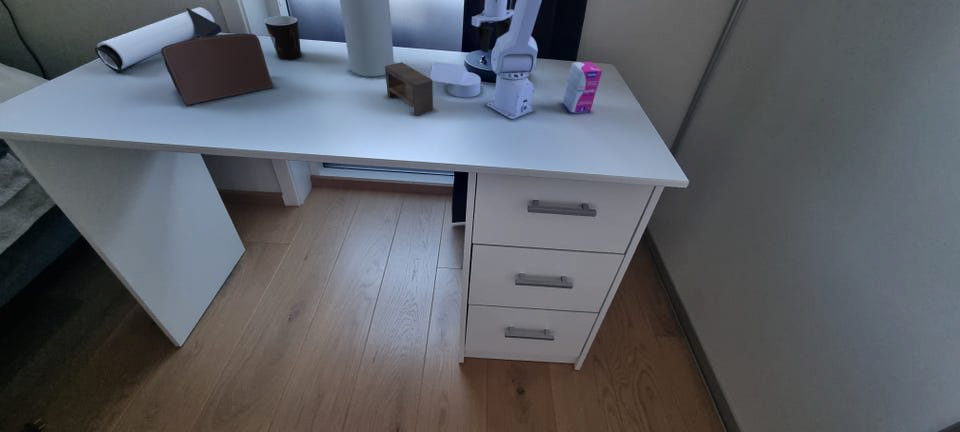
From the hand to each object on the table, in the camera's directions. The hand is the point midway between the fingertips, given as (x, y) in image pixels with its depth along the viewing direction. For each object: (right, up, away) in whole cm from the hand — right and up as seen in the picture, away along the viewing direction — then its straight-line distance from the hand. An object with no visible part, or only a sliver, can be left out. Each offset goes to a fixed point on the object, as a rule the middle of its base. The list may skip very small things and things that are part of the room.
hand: (491, 49), depth 110 cm
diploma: (-91, 0, +4) cm, 91 cm away
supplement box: (+22, -18, -5) cm, 29 cm away
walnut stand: (-21, -18, -9) cm, 29 cm away
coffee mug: (-60, 0, +7) cm, 60 cm away
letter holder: (-67, -15, -10) cm, 70 cm away
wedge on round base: (-10, -12, -1) cm, 15 cm away
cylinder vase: (-35, -4, +5) cm, 35 cm away
